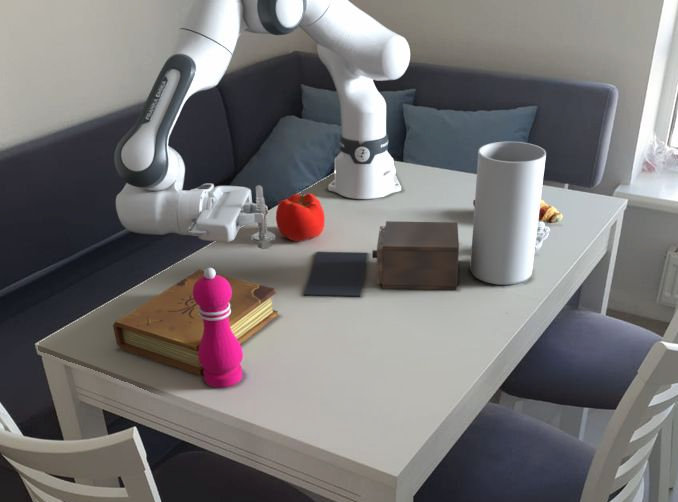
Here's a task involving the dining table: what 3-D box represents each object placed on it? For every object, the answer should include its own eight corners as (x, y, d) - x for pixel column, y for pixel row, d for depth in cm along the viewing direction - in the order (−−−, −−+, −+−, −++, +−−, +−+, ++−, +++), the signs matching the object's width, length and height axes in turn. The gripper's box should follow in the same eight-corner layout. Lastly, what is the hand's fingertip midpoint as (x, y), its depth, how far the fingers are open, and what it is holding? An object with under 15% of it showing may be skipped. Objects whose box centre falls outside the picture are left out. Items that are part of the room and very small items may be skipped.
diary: (199, 295, 158) (196, 268, 155) (277, 316, 150) (275, 288, 147) (117, 348, 141) (111, 319, 138) (200, 375, 134) (195, 345, 130)
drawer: (370, 283, 159) (370, 249, 155) (374, 258, 168) (374, 226, 164) (445, 284, 158) (446, 250, 154) (444, 260, 167) (446, 227, 163)
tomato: (300, 250, 175) (297, 211, 170) (267, 235, 182) (264, 197, 177) (337, 237, 180) (335, 198, 175) (304, 222, 188) (301, 185, 183)
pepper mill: (210, 394, 129) (193, 282, 118) (195, 373, 134) (179, 264, 123) (251, 382, 131) (239, 272, 120) (236, 361, 137) (223, 254, 126)
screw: (250, 243, 164) (272, 240, 165) (255, 252, 160) (278, 249, 162) (244, 182, 157) (268, 179, 158) (249, 190, 153) (273, 187, 154)
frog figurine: (545, 259, 168) (549, 228, 164) (511, 256, 170) (514, 225, 166) (548, 248, 173) (552, 218, 169) (516, 244, 175) (519, 214, 171)
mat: (316, 253, 173) (316, 251, 173) (367, 253, 172) (367, 252, 172) (304, 295, 157) (304, 294, 157) (360, 296, 156) (360, 295, 156)
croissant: (561, 233, 188) (568, 199, 187) (557, 228, 178) (565, 192, 177) (474, 220, 194) (480, 187, 193) (465, 215, 185) (472, 180, 184)
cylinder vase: (458, 266, 166) (466, 147, 152) (510, 255, 170) (521, 138, 156) (490, 291, 157) (501, 166, 143) (544, 279, 161) (559, 156, 147)
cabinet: (382, 288, 159) (382, 246, 154) (385, 261, 169) (386, 221, 164) (456, 290, 157) (459, 247, 152) (455, 262, 168) (457, 222, 163)
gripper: (182, 218, 150) (254, 219, 149) (207, 180, 167) (273, 180, 165) (186, 249, 153) (257, 250, 152) (211, 208, 170) (275, 209, 169)
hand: (265, 213), depth 159 cm, fingers closed on screw, 2 cm apart
